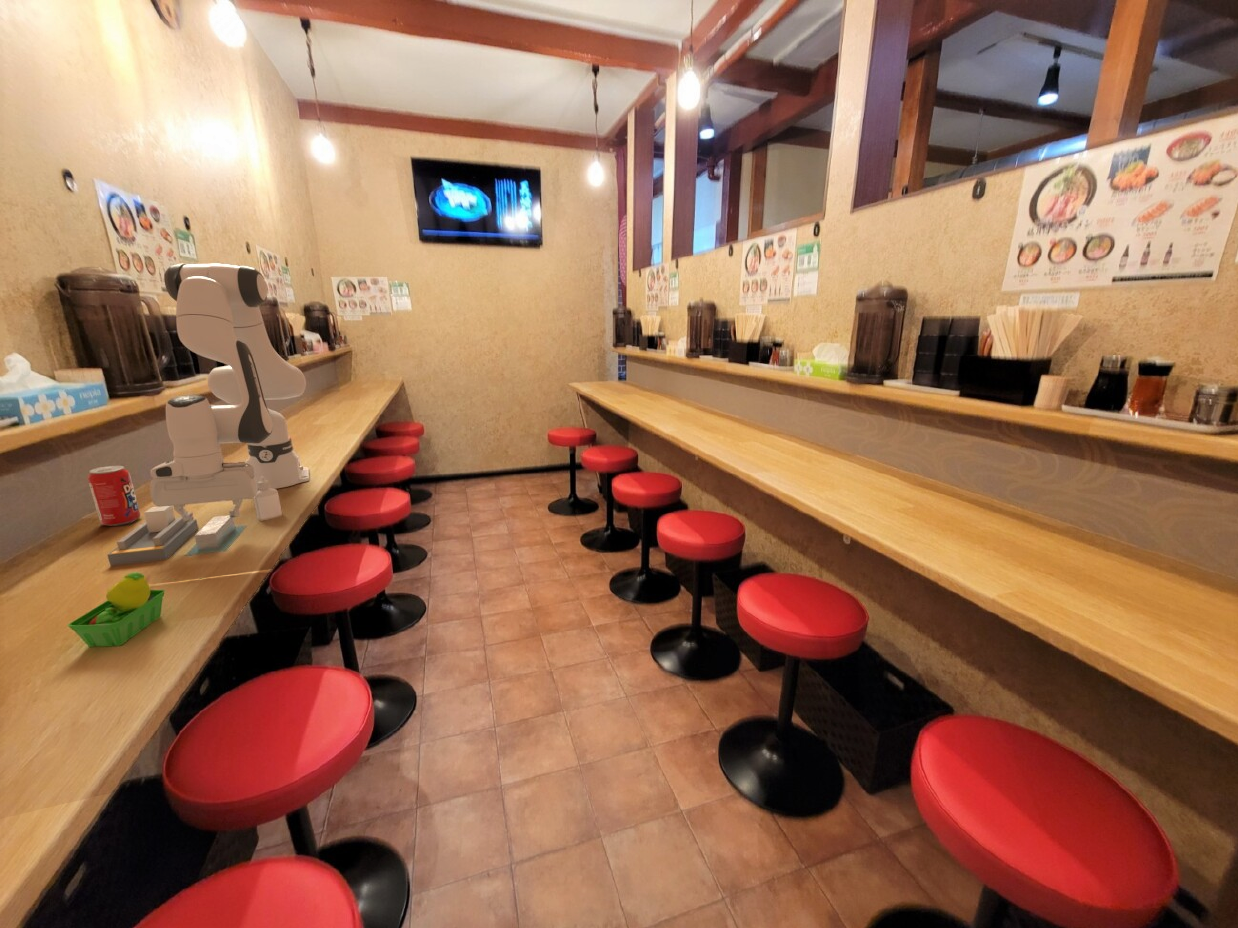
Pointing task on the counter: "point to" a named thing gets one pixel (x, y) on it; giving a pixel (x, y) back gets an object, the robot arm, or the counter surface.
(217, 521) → the bar
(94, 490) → the soda can
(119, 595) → the fruit basket
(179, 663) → the counter surface
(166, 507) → the switch tab
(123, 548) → the switch panel
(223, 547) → the mat
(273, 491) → the eye dropper bottle
